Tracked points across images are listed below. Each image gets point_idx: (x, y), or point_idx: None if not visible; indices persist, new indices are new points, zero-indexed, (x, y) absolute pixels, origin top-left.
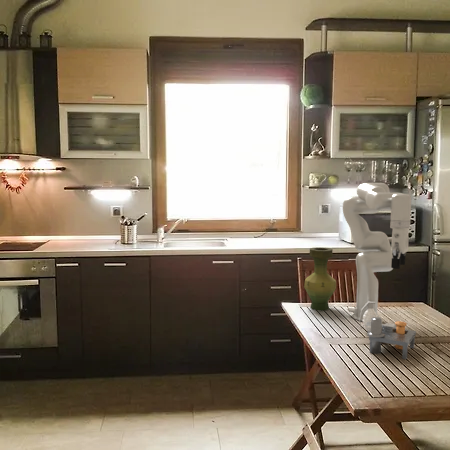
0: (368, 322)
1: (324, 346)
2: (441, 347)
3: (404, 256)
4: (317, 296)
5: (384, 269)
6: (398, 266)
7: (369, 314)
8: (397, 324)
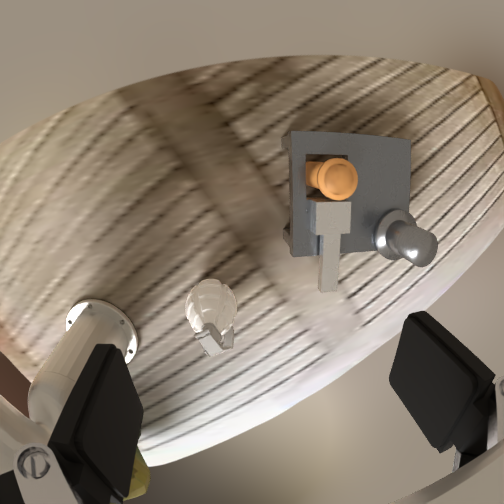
0: (331, 287)
1: (381, 326)
2: (234, 70)
3: (87, 438)
4: (139, 454)
5: (3, 401)
6: (432, 332)
7: (232, 317)
8: (355, 187)
